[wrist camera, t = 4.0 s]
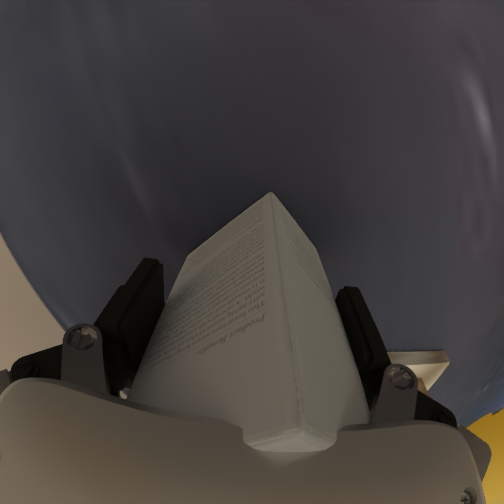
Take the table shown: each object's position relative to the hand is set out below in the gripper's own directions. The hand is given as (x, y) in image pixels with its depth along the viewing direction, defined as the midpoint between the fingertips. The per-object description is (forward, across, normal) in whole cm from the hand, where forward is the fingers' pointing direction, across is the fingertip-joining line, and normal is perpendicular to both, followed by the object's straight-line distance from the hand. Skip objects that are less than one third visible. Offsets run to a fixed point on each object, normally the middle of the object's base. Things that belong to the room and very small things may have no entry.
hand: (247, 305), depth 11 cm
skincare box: (+5, 0, 0) cm, 5 cm away
